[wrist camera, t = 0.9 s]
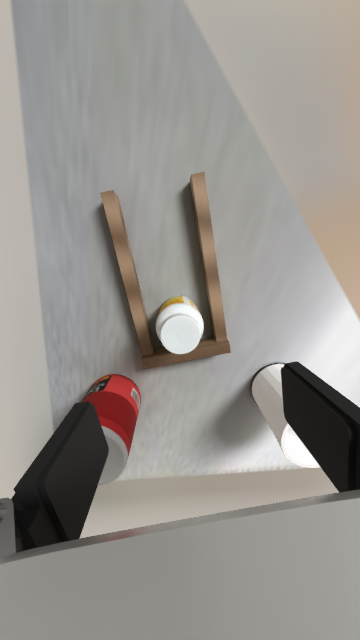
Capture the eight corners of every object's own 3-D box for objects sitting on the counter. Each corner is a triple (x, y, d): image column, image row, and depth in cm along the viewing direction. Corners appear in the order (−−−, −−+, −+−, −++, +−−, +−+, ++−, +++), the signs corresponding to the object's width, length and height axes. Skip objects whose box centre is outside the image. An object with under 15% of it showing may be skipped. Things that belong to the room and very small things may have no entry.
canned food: (104, 364, 30) (67, 416, 20) (150, 387, 32) (140, 447, 21) (83, 402, 32) (38, 469, 21) (128, 422, 33) (107, 496, 23)
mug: (240, 403, 33) (270, 462, 23) (257, 354, 31) (298, 396, 21) (301, 414, 34) (355, 475, 24) (322, 367, 32) (390, 413, 22)
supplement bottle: (202, 302, 29) (217, 320, 19) (188, 336, 30) (196, 367, 20) (166, 289, 28) (164, 300, 19) (154, 324, 29) (146, 351, 20)
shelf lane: (105, 198, 25) (97, 189, 22) (201, 179, 25) (205, 167, 22) (146, 359, 30) (144, 369, 28) (225, 344, 30) (230, 352, 27)
